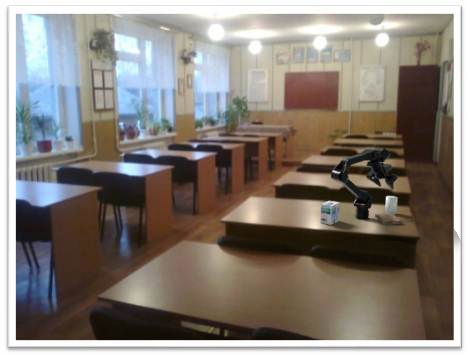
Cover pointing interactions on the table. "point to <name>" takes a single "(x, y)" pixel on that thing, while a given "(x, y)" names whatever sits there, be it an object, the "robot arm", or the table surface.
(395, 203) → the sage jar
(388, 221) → the walnut base block
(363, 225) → the table surface
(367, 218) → the robot arm
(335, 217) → the light bulb box
